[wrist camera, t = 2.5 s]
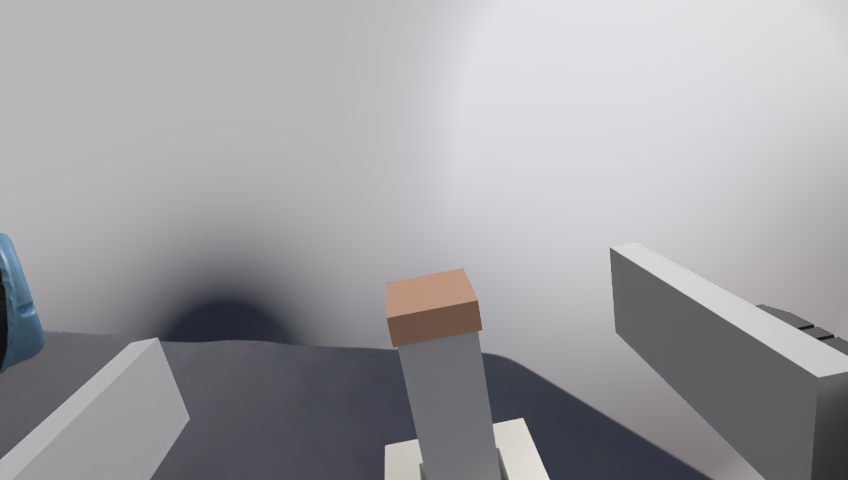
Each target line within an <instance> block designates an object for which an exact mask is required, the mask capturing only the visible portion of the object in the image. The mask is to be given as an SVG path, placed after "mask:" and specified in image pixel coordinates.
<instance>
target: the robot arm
mask: <svg viewBox="0 0 848 480" xmlns="http://www.w3.org/2000/svg"><path fill="white" fill-rule="evenodd" d="M610 258H611V272H612V286H613V301H614V315H615V327H616V333H617V334H618V335H619V336H620V337H621V338H622V339H623V340H624V341H625V342H626V343H628V344H629V346H630V347H632V348H633V349H634V350H635V351H636V352H637V353H638V354H639V355H640V356H641V357H642V358H643V359H644V360H645V361H646V362H647V363H648V364H649V365H650V366H651V367H652V368H653V369H654V370H655V371H656V372H657V373H658V374H659V375H660V376H661V377H662V378H663V379H664V380H665V381H666V382H667V383H668V384H669V385H670V386H671V387H672V388H673V389H674V390H675V391H676V392H677V393H678V394H679V395H680V396H681V397H682V398H683V399H684V400H685V401H686V402H687V403H688V404H689V405H690V406H692V408H694V410H695V411H696V412H698V413H699V414H700V415H701V416H702V417H703V418H704V419H705V420H706V421H707V422H708V423H709V424H710V425H711V426H712V427H713V428H714V429H715V430H716V431H717V432H718V433H719V434H720V435H721V436H722V437H723V438H724V439H725V440H726V441H727V442H728V443H729V444H730V445H731V446H732V447H733V448H734V449H735V450H736V451H737V452H738V453H739V454H740V455H741V456H742V457H743V458H744V459H745V460H746V461H747V462H748V463H749V464H750V465H751V466H752V467H753V468H754V469H755V470H756V471H757V472H758V473H759V474H760V475H761V476H763V477H764V478H765V479H766V480H848V342H847V341H845V340H843V339H841V338H839V337H837V338H835V337H834V335H833V334H831V333H830V332H828V331H826V330H824V329H821V328H819V327H814V324H812V323H810V322H808V321H806V320H804V319H802V318H800V317H798V316H796V315H794V314H792V313H790V312H786V311H783V310H779V309H775V308H772V307H769V306H765V305H757V306H754V305H752V304H750V303H748V302H746V301H745V300H743V299H741V298H739V297H737V296H735V295H733V294H731V293H729V292H728V291H726V290H724V289H722V288H720V287H718V286H717V285H715V284H713V283H711V282H709V281H707V280H705V279H703V278H702V277H700V276H698V275H696V274H694V273H692V272H691V271H689V270H687V269H685V268H683V267H681V266H679V265H678V264H676V263H674V262H672V261H670V260H668V259H666V258H664V257H663V256H661V255H659V254H657V253H655V252H653V251H651V250H650V249H648V248H646V247H644V246H642V245H640V244H638V243H637V242H633V243H628V244H623V245H618V246H613V247H610ZM44 342H45V338H44V334H43V330H42V327H41V324H40V321H39V318H38V315H37V312H36V309H35V307H34V304H33V300H32V297H31V294H30V291H29V287H28V285H27V282H26V279H25V276H24V273H23V270H22V268H21V265H20V262H19V259H18V256H17V254H16V251H15V248H14V246H13V243H12V241H11V240H10V238H9V237H8V236H7V235H6V234H3V233H0V373H2V372H4V371H5V370H6V369H7V368H9V367H11V366H13V365H16V364H18V363H20V362H23V361H25V360H28V359H30V358H32V357H34V356H35V355H37V354H38V353H39V352H40V351H41V349H42V348H43V346H44ZM189 419H190V418H189V415H188V413H187V410H186V408H185V405H184V403H183V400H182V398H181V395H180V393H179V390H178V387H177V385H176V382H175V380H174V377H173V375H172V372H171V370H170V367H169V365H168V362H167V360H166V357H165V355H164V352H163V350H162V347H161V344H160V342H159V339H158V338H153V339H148V340H143V341H138V342H133V343H130V344H129V345H128V346H127V347H126V348H125V349H124V350H122V351H121V352H120V353H119V354H118V355H117V356H116V357H115V358H114V359H112V360H111V361H110V362H109V363H108V364H107V365H106V366H105V367H103V368H102V369H101V370H100V371H99V372H98V373H97V374H96V375H94V376H93V377H92V378H91V379H90V380H89V381H88V382H87V383H86V384H84V385H83V386H82V387H81V388H80V389H79V390H78V391H77V392H75V393H74V394H73V395H72V396H71V397H70V398H69V399H68V400H67V401H65V402H64V403H63V404H62V405H61V406H60V407H59V408H58V409H56V410H55V411H54V412H53V413H52V414H51V415H50V416H49V417H48V418H46V419H45V420H44V421H43V422H42V423H41V424H40V425H39V426H37V427H36V428H35V429H34V430H33V431H32V432H31V433H30V434H29V435H27V436H26V437H25V438H24V439H23V440H22V441H21V442H20V443H18V444H17V445H16V446H15V447H14V448H13V449H12V450H11V451H10V452H8V453H7V454H6V455H5V456H4V457H3V458H2V459H1V460H0V480H150V479H151V477H152V476H153V474H154V472H155V471H156V469H157V468H158V466H159V465H160V463H161V462H162V460H163V459H164V457H165V456H166V454H167V453H168V451H169V449H170V448H171V446H172V445H173V443H174V442H175V440H176V439H177V437H178V436H179V434H180V433H181V431H182V430H183V428H184V427H185V425H186V423H187V422H188V420H189Z"/></svg>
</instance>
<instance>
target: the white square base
mask: <svg viewBox="0 0 848 480" xmlns="http://www.w3.org/2000/svg"><path fill="white" fill-rule="evenodd" d="M493 431H494V437H495V443H496V450H497V456H498V462H499V469H500V475H501V480H549V478H548V475H547V473H546V471H545V468H544V466H543V464H542V461H541V459H540V457H539V454H538V452H537V450H536V447H535V445H534V443H533V440H532V438H531V436H530V433H529V431H528V429H527V426H526V424H525V422H524V419H523V418H521V419H516V420H511V421H506V422H501V423H496V424H493ZM385 480H427V478H426V474H425V469H424V465H423V460H422V456H421V451H420V446H419V442H418V439H416V440H411V441H406V442H401V443H396V444H391V445H386V446H385Z"/></svg>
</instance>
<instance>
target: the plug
mask: <svg viewBox="0 0 848 480" xmlns="http://www.w3.org/2000/svg"><path fill="white" fill-rule="evenodd" d="M387 322H388V326H389V331H390V335H391V340H392V344H393V347H398V351H399V355H400V360H401V364H402V369H403V373H404V378H405V383H406V387H407V392H408V396H409V401H410V405H411V410H412V414H413V419H414V424H415V428H416V433H417V437H418V442H419V446H420V451H421V456H422V460H423V465H424V469H425V474H426V478H427V480H501V475H500V469H499V462H498V456H497V450H496V443H495V437H494V431H493V424H492V418H491V412H490V405H489V399H488V393H487V386H486V380H485V374H484V367H483V361H482V355H481V349H480V342H479V336H478V331H479V330H482V326H481V319H480V312H479V306H478V300H477V298H476V296H475V293H474V291H473V289H472V287H471V285H470V282H469V280H468V278H467V276H466V274H465V271H464V269H458V270H453V271H447V272H443V273H437V274H432V275H427V276H421V277H416V278H412V279H406V280H401V281H396V282H390V283H387Z"/></svg>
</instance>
